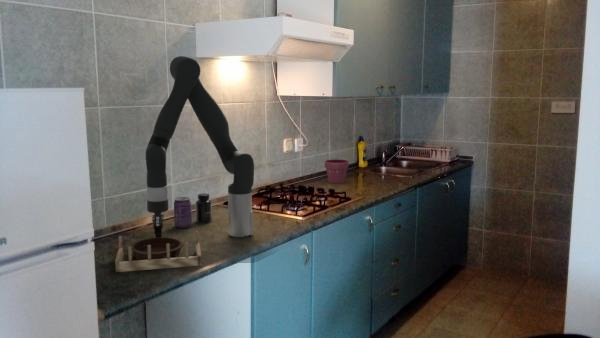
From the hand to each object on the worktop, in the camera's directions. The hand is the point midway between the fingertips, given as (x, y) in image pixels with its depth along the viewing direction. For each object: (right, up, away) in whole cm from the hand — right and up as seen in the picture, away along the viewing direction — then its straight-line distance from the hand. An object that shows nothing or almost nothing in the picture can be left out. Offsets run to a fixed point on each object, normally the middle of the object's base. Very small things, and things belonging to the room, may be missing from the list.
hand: (159, 243), depth 195 cm
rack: (+4, -4, -13) cm, 14 cm away
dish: (+2, -4, -11) cm, 12 cm away
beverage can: (+3, +3, +27) cm, 27 cm away
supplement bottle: (+10, +5, +35) cm, 37 cm away
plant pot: (+74, +20, +119) cm, 141 cm away
